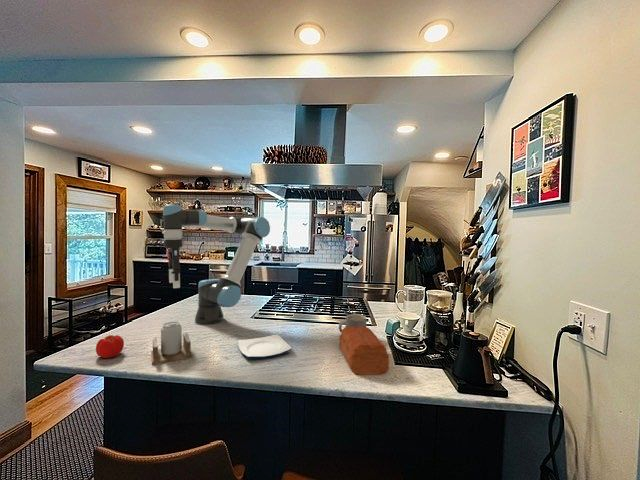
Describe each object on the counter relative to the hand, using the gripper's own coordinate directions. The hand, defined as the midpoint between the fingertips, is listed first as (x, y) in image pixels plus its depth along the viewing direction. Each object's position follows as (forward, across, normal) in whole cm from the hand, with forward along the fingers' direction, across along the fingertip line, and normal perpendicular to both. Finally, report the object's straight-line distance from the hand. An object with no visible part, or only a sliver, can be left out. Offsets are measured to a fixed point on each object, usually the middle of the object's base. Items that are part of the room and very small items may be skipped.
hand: (174, 285), depth 135 cm
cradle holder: (+25, +18, -4) cm, 31 cm away
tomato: (+25, +6, -24) cm, 35 cm away
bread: (+27, +60, +61) cm, 90 cm away
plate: (+27, +31, +30) cm, 51 cm away
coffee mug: (+27, +39, +73) cm, 87 cm away
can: (+24, +17, -4) cm, 30 cm away
